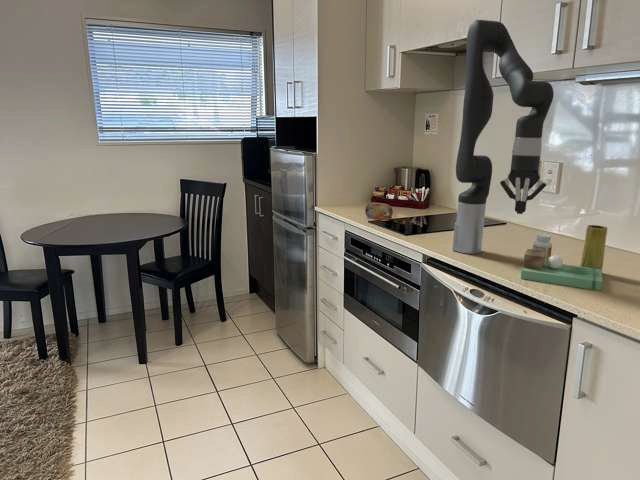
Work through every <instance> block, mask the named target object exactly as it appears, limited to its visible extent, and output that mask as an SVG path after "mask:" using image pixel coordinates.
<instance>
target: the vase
mask: <svg viewBox="0 0 640 480" xmlns="http://www.w3.org/2000/svg"><path fill="white" fill-rule="evenodd" d="M585 231H586V233H585V237H584V238H585V239H584V245H583V250H582V256H581V262H580V267H587V268H595V269H601V272H602V273H603V266H604V260H605V257H604V256H605V250H606V249H605V248H606V241H607V235H608V227H607V226H604V225H598V224H597V225H595V224H590V225H587V227H586V230H585Z"/></svg>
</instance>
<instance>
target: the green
mask: <svg viewBox="0 0 640 480" xmlns="http://www.w3.org/2000/svg"><path fill="white" fill-rule="evenodd" d="M580 266H581V265H580ZM580 266H579V265H571V264H564V263H563V264H562V266H561V267H560V268H558V269H552V268H551V267H549V265H548V263H547V262H544V266H543V268H542V270H535V269H528V268H523V267H522V269H521V272H520V279H521V280H522V279H523V280H527V281H535V282H542V283H547V284H553V285H554V284H555V285H560V286H565V287H566V286H567V287H574V288H579V289H587V290H593V291H602V286H603V271H602V272H601V269H595V268H587V267H580Z"/></svg>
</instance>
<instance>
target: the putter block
mask: <svg viewBox="0 0 640 480" xmlns="http://www.w3.org/2000/svg"><path fill="white" fill-rule="evenodd" d="M545 253H546V251H541V250H533V248H532V249H531V248H527V250H526V251H525V252H524V256H523V262H522V263H523V265H522V269H523V268H528V269H535V270H542V268H543V266H544V261H545Z"/></svg>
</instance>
